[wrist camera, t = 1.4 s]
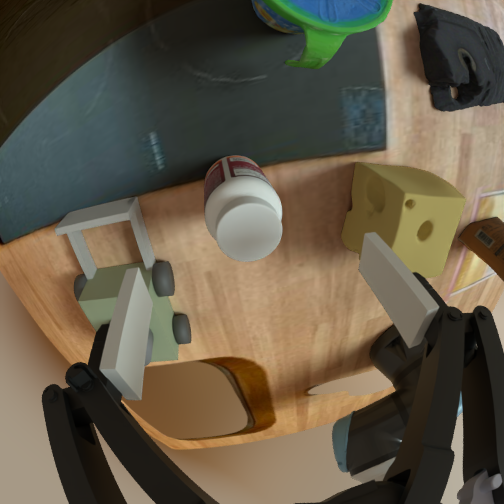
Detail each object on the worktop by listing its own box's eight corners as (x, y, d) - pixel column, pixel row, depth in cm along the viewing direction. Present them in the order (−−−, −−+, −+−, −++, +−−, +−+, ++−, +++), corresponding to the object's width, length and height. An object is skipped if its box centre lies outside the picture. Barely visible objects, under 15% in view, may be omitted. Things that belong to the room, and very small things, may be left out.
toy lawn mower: (191, 327, 39) (191, 379, 32) (116, 334, 38) (106, 382, 31) (151, 193, 27) (131, 236, 20) (58, 215, 26) (22, 258, 19)
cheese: (338, 237, 34) (375, 288, 26) (352, 155, 28) (405, 187, 20) (400, 235, 35) (441, 277, 27) (418, 163, 30) (472, 195, 21)
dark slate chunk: (505, 111, 26) (525, 118, 22) (425, 110, 26) (450, 117, 22) (495, 29, 17) (515, 31, 13) (404, -1, 17) (429, -6, 13)
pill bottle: (220, 218, 30) (227, 282, 21) (194, 170, 27) (186, 217, 18) (272, 194, 30) (303, 250, 20) (250, 144, 26) (274, 177, 17)
